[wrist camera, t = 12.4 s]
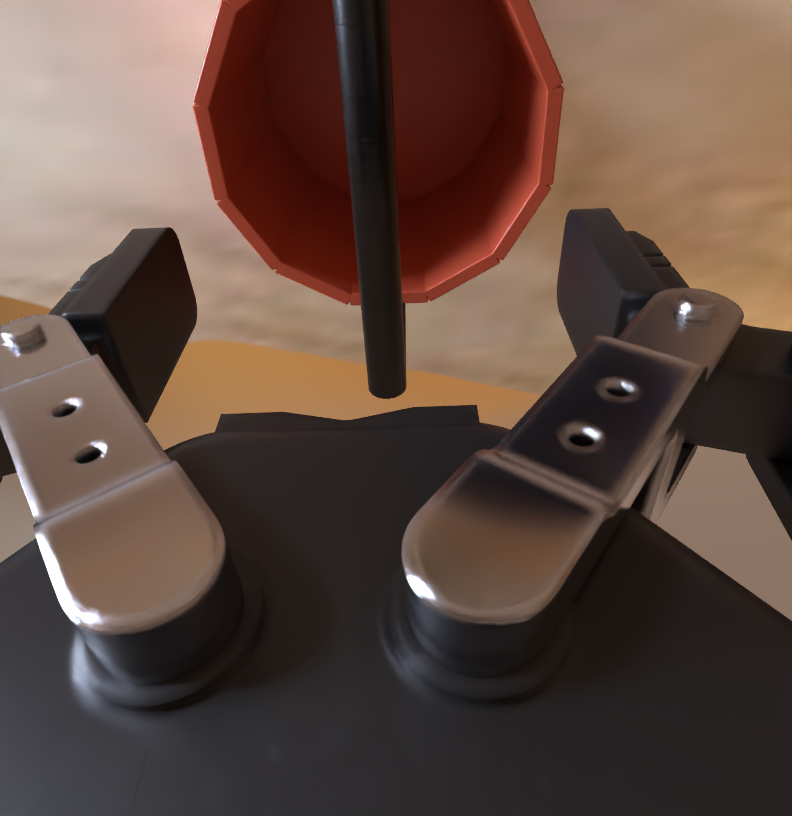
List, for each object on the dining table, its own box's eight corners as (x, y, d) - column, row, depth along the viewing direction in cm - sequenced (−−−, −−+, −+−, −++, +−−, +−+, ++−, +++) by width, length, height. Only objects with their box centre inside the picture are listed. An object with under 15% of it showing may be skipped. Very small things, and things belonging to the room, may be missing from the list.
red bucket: (282, 220, 31) (209, 405, 19) (230, -89, 23) (56, -98, 12) (503, 210, 31) (568, 393, 19) (524, -107, 23) (655, -136, 11)
